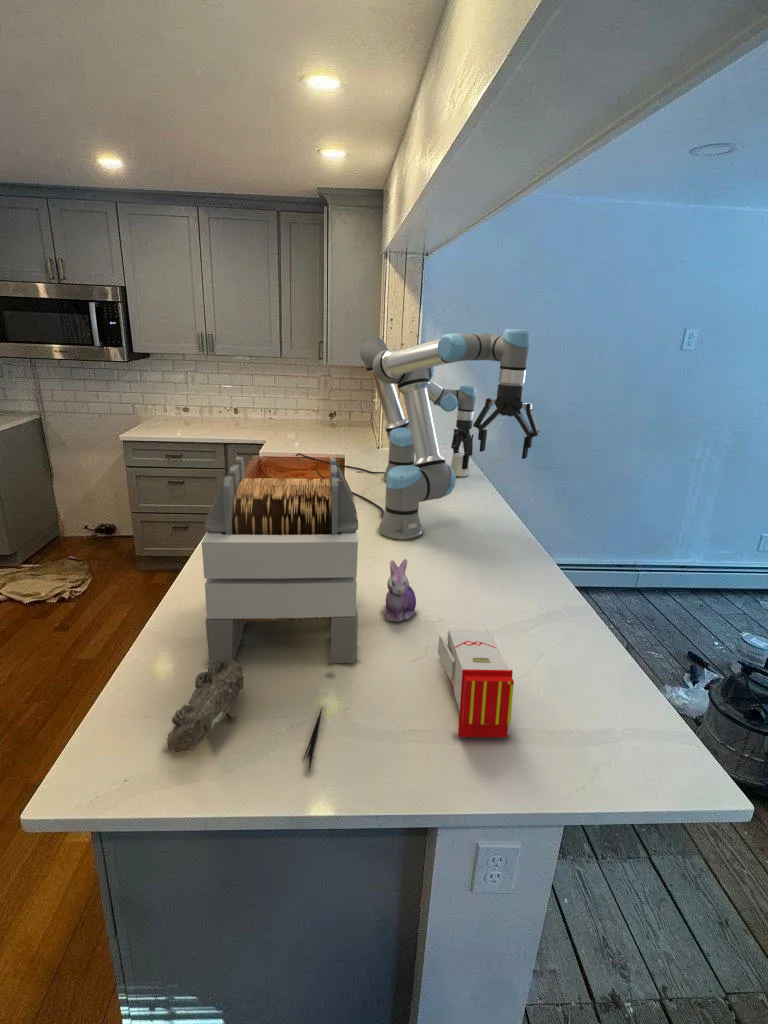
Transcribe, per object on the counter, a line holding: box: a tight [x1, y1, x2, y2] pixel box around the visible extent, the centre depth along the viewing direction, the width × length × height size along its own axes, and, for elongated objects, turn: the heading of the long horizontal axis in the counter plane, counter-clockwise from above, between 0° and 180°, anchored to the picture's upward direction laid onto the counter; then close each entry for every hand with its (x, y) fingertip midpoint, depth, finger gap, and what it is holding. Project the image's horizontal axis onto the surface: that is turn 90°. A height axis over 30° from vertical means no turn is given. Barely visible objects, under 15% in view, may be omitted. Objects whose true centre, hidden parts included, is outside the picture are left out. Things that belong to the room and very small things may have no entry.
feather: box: [301, 673, 332, 771], centre depth 108 cm, size 2×28×2 cm
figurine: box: [384, 558, 417, 623], centre depth 145 cm, size 9×10×15 cm
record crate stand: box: [201, 455, 359, 666], centre depth 133 cm, size 34×33×41 cm
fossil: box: [166, 659, 245, 754], centre depth 106 cm, size 22×10×15 cm
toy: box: [437, 628, 515, 738], centre depth 117 cm, size 12×13×30 cm
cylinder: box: [451, 452, 470, 477], centre depth 273 cm, size 8×8×10 cm
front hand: (502, 454), depth 174 cm, fingers open, 13 cm apart
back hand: (459, 466), depth 273 cm, fingers closed on cylinder, 8 cm apart
